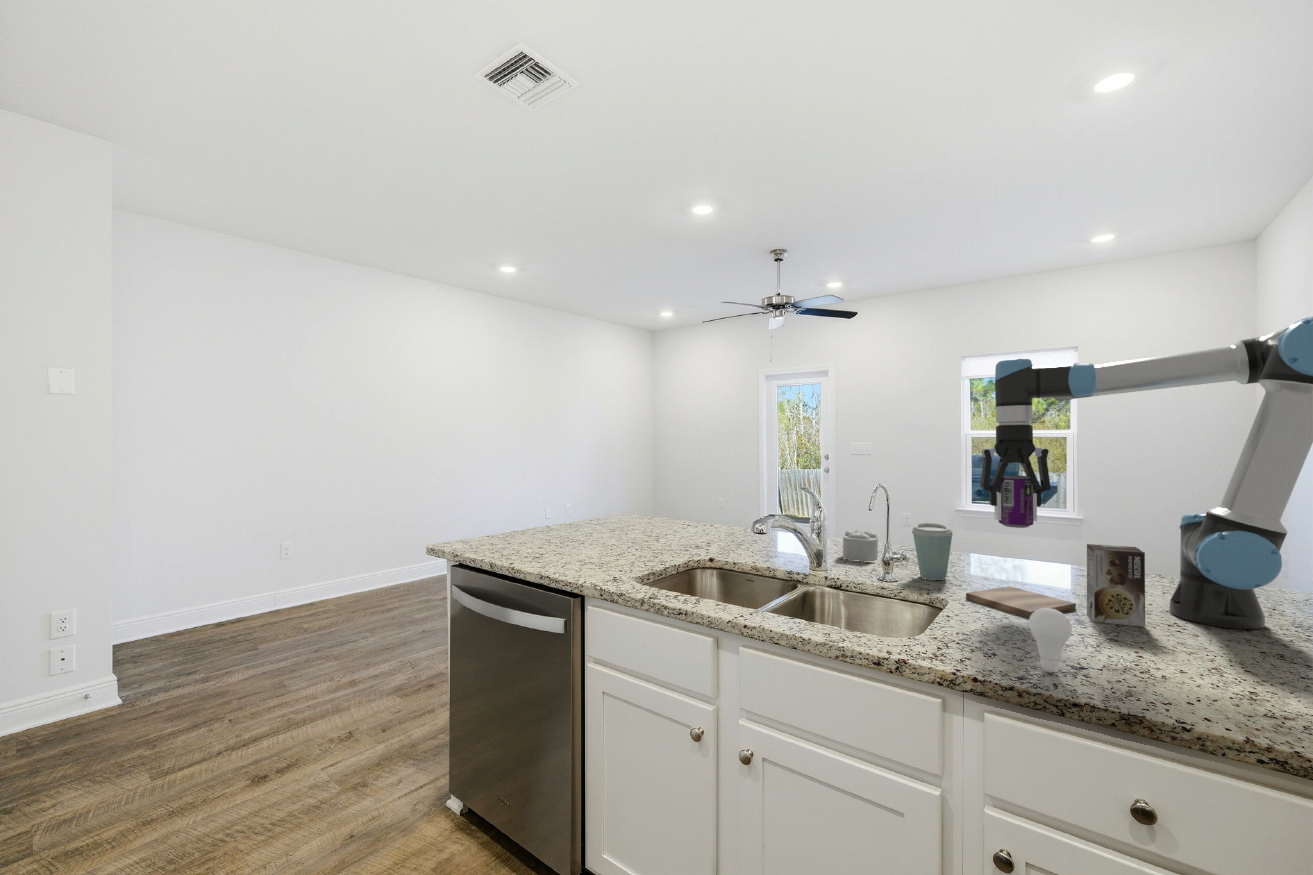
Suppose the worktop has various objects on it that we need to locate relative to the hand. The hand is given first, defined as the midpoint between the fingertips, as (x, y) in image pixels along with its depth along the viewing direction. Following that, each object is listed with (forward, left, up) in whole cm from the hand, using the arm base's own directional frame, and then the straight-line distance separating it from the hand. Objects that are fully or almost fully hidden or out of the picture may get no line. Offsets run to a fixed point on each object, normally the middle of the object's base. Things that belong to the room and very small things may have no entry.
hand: (1015, 519), depth 137 cm
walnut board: (-1, -1, -20) cm, 20 cm away
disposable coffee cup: (+25, -2, -21) cm, 33 cm away
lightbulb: (-29, +32, -21) cm, 48 cm away
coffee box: (-17, -9, -21) cm, 28 cm away
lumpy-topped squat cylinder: (+54, -2, -21) cm, 58 cm away
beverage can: (0, 0, -2) cm, 2 cm away
